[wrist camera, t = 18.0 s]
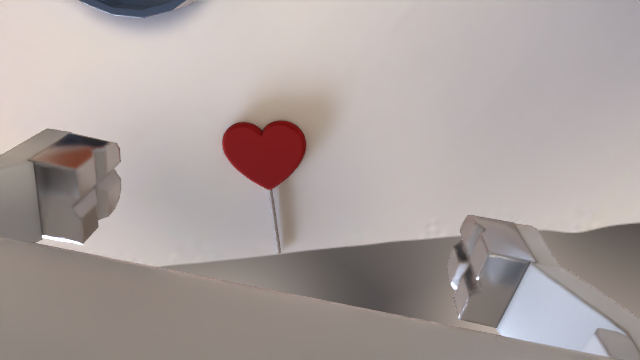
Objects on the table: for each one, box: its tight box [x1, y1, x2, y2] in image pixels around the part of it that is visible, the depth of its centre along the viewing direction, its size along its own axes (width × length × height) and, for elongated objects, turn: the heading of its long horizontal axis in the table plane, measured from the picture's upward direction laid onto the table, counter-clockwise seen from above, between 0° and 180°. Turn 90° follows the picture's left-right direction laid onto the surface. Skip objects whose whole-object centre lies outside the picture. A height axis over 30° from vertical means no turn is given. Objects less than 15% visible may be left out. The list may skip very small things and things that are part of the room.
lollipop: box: [222, 121, 306, 253], centre depth 46 cm, size 8×1×15 cm
